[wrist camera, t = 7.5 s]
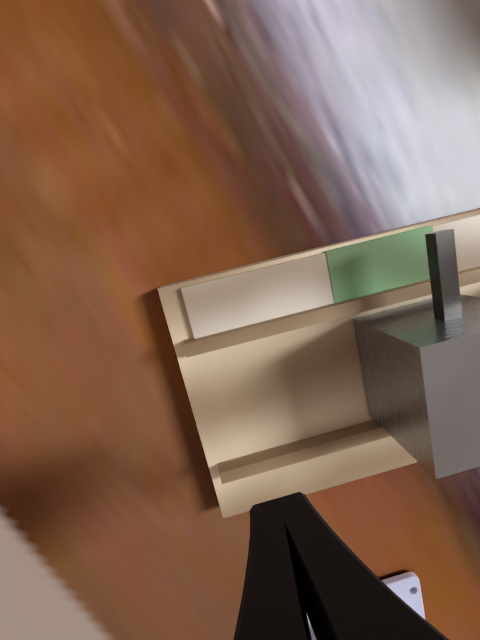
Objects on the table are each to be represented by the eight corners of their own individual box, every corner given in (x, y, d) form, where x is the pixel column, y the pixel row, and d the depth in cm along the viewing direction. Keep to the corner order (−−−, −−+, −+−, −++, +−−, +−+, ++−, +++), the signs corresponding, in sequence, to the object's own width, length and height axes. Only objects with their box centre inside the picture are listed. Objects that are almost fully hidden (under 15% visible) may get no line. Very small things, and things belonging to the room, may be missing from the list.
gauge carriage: (462, 388, 17) (563, 441, 13) (369, 414, 17) (435, 479, 12) (445, 222, 16) (556, 209, 11) (341, 248, 15) (406, 246, 10)
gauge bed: (589, 395, 20) (758, 458, 14) (222, 501, 19) (232, 621, 13) (587, 181, 17) (792, 144, 11) (160, 286, 16) (136, 306, 10)
